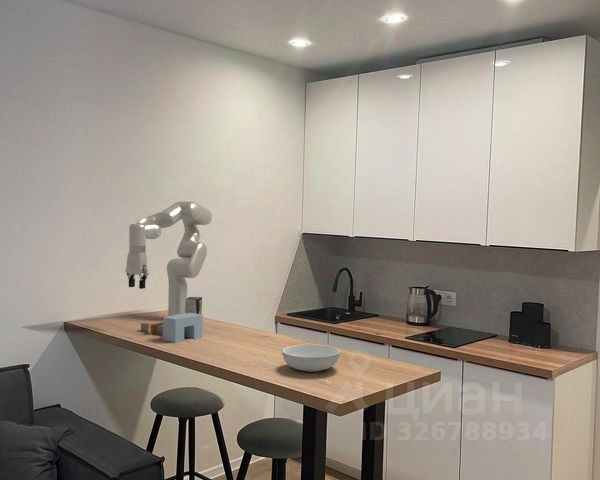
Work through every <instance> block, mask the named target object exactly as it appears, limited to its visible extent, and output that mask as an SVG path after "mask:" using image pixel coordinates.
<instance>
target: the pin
mask: <svg viewBox="0 0 600 480" xmlns="http://www.w3.org/2000/svg"><path fill="white" fill-rule="evenodd" d="M140 332H143V333H147V334H148V335H151V334H152V335H157V334H158V336H161V337H163V321H158V322H152V323H149V322H143V323H142V322H141V323H140Z"/></svg>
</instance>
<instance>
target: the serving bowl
mask: <svg viewBox="0 0 600 480" xmlns="http://www.w3.org/2000/svg"><path fill="white" fill-rule="evenodd" d="M281 352H282V353H281V354H282V358H283V360H284V362H285V363H286V365H288V366H289V367H291V368H293V369H295V370H297V371H302V372H306V371H307V373H308V372H309V373H313V372H316V373H317V372H321V371H324V370H327V369H330V368H332V367H334V366H335V365H336V363H338V360H339V357H340V355H341V354H340V353H341V351H340V349H339V348H337V347H335V346H331V345H327V344H318V343H316V344H315V343H304V344H294V345H289V346H286V347H284V348H283V349H282V350H281Z"/></svg>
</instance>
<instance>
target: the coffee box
mask: <svg viewBox="0 0 600 480" xmlns="http://www.w3.org/2000/svg"><path fill="white" fill-rule="evenodd" d="M202 310H203V297H202V296H189V297H187V299H185V313H195V314H201V315H203V312H202Z"/></svg>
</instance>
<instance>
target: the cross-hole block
mask: <svg viewBox="0 0 600 480" xmlns="http://www.w3.org/2000/svg"><path fill="white" fill-rule="evenodd" d="M203 318H204V317H203V314H202V315H201V314H195V313H185V314H179V315H173V316H168V315H167V316H163V317H162V322H163V336H162V341H167V342H172V343H175V344H176V343H180V342H184V341H185V337H186V338H188V339H189V338H190V339H193V340H194V339H198V338H203V323H204V322H203Z"/></svg>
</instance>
